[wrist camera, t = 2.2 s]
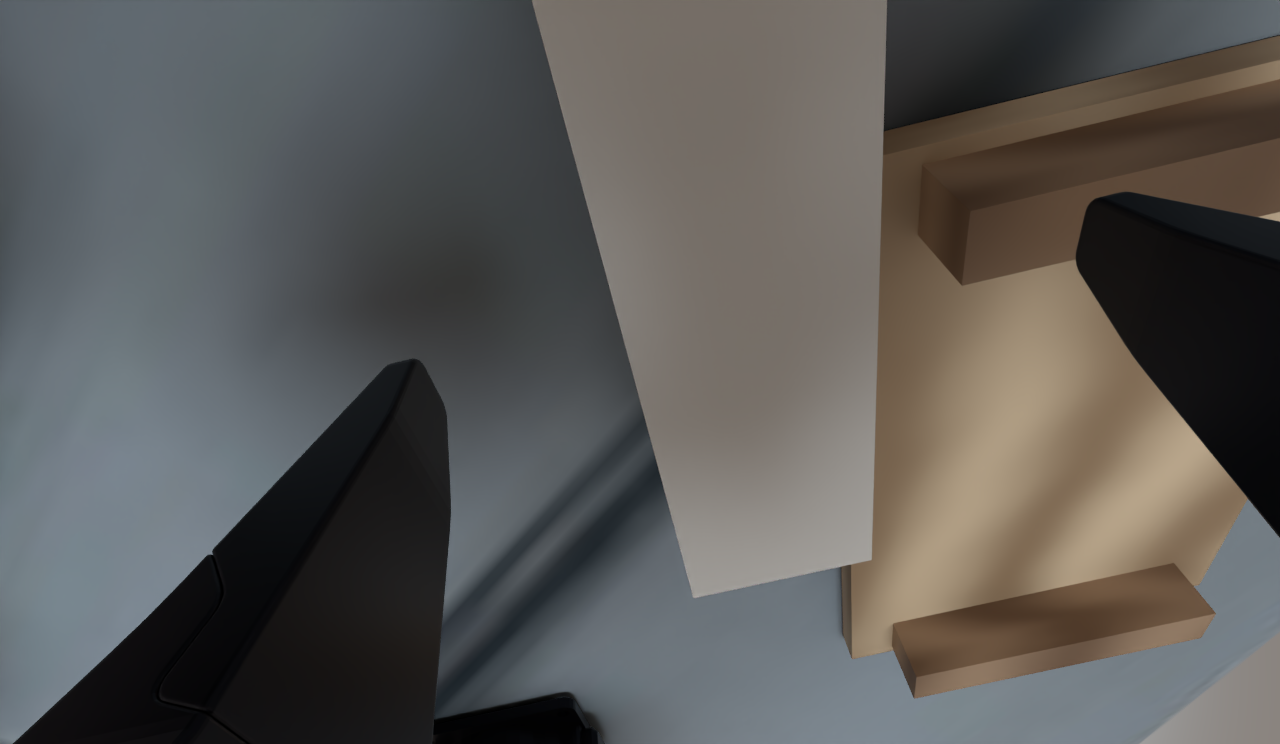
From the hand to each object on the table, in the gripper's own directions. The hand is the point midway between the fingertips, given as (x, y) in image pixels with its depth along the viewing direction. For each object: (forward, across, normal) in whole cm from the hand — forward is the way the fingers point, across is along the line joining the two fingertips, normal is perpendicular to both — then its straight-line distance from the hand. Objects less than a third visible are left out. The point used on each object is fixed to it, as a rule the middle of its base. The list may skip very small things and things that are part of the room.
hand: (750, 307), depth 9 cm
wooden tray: (+6, -10, +11) cm, 16 cm away
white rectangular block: (+6, 0, 0) cm, 6 cm away
